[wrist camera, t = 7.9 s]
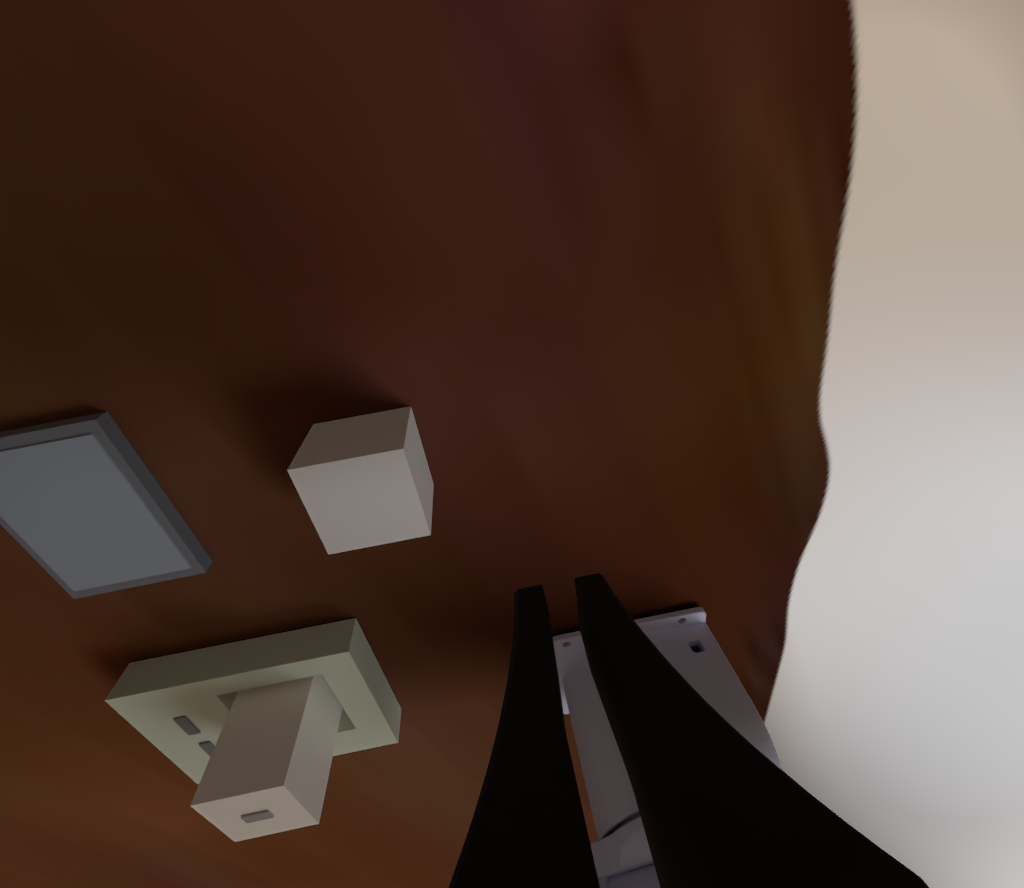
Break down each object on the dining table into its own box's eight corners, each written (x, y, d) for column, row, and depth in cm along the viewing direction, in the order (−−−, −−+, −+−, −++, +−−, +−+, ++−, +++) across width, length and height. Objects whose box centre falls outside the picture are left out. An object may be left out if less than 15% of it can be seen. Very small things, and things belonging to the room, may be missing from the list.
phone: (116, 405, 17) (93, 420, 16) (218, 553, 21) (205, 574, 20) (-41, 435, 17) (-75, 452, 16) (92, 578, 21) (72, 600, 20)
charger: (318, 657, 24) (282, 788, 19) (344, 698, 26) (318, 826, 21) (245, 673, 24) (188, 808, 19) (276, 712, 26) (233, 844, 21)
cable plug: (411, 405, 18) (403, 448, 15) (433, 483, 20) (430, 534, 17) (289, 427, 18) (257, 475, 15) (324, 503, 20) (302, 559, 17)
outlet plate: (356, 617, 24) (348, 653, 22) (401, 708, 29) (398, 744, 27) (129, 662, 24) (103, 702, 22) (212, 747, 28) (196, 786, 26)
